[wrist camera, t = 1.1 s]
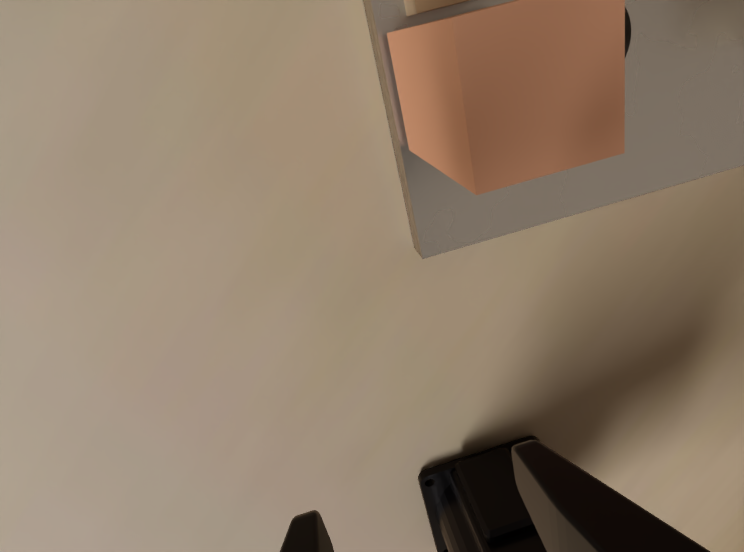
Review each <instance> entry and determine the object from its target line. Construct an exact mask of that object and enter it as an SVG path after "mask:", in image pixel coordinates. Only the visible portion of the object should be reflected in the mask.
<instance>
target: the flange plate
mask: <svg viewBox="0 0 744 552" xmlns="http://www.w3.org/2000/svg"><path fill="white" fill-rule="evenodd" d="M510 1H514V0H470V1H466V2H462V3H458V4H455V5H451V6H447V7H443V8H439V9H435V10H431V11H427V12H423V13H419V14H415V15H411V16H408V17H407V16H406V10H405V5H404V0H363V2H364V7H365V11H366V16H367V21H368V26H369V31H370V36H371V40H372V45H373V50H374V55H375V60H376V65H377V69H378V74H379V79H380V84H381V89H382V94H383V98H384V103H385V108H386V113H387V118H388V123H389V127H390V132H391V137H392V142H393V147H394V151H395V156H396V161H397V166H398V171H399V176H400V180H401V185H402V190H403V195H404V200H405V205H406V209H407V214H408V219H409V224H410V229H411V234H412V238H413V243H414V248H415V249H416V251H417V252H418V253H419V255H420V256H421V257H422V259H424V258H427V257H431V256H434V255H438V254H441V253H445V252H448V251H451V250H455V249H458V248H462V247H465V246H469V245H472V244H475V243H479V242H482V241H486V240H489V239H493V238H496V237H499V236H503V235H506V234H510V233H513V232H517V231H520V230H523V229H527V228H530V227H534V226H537V225H541V224H544V223H547V222H551V221H554V220H558V219H561V218H565V217H568V216H571V215H575V214H578V213H582V212H585V211H589V210H592V209H595V208H599V207H602V206H606V205H609V204H613V203H616V202H619V201H623V200H626V199H630V198H633V197H637V196H640V195H643V194H647V193H650V192H654V191H657V190H661V189H664V188H667V187H671V186H674V185H678V184H681V183H684V182H688V181H691V180H695V179H698V178H702V177H705V176H708V175H712V174H715V173H719V172H722V171H726V170H729V169H732V168H736V167H739V166H743V165H744V0H625V153H623V154H620V155H616V156H613V157H609V158H606V159H602V160H599V161H595V162H592V163H588V164H585V165H581V166H578V167H574V168H571V169H567V170H563V171H560V172H556V173H553V174H549V175H546V176H542V177H539V178H535V179H532V180H528V181H525V182H521V183H518V184H514V185H511V186H507V187H504V188H500V189H497V190H493V191H490V192H486V193H483V194H479V195H475V194H474V193H472V192H471V191H469V190H468V189H466V188H465V187H463V186H462V185H460V184H459V183H457V182H456V181H454V180H453V179H451V178H450V177H448V176H447V175H445V174H444V173H442V172H441V171H439V170H438V169H436V168H435V167H433V166H432V165H430V164H429V163H427V162H426V161H425V160H423V159H422V158H420V157H419V156H417V155H416V154H414V153H413V152H411V151H410V150H409V146H408V141H407V136H406V131H405V126H404V121H403V115H402V110H401V105H400V100H399V95H398V90H397V84H396V79H395V74H394V69H393V64H392V58H391V53H390V48H389V43H388V38H387V33H389V32H393V31H397V30H400V29H404V28H408V27H412V26H416V25H420V24H424V23H428V22H432V21H436V20H439V19H443V18H447V17H451V16H455V15H459V14H463V13H467V12H471V11H474V10H478V9H482V8H486V7H490V6H494V5H498V4H502V3H506V2H510Z"/></svg>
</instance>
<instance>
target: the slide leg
mask: <svg viewBox="0 0 744 552" xmlns="http://www.w3.org/2000/svg"><path fill="white" fill-rule="evenodd" d="M387 38H388V43H389V48H390V53H391V58H392V64H393V69H394V74H395V79H396V84H397V90H398V95H399V100H400V105H401V110H402V115H403V121H404V126H405V131H406V136H407V141H408V146H409V150H410V151H411V152H413V153H414V154H416V155H417V156H419V157H420V158H422V159H423V160H425V161H426V162H427V163H429V164H430V165H432V166H433V167H435V168H436V169H438V170H439V171H441V172H442V173H444V174H445V175H447V176H448V177H450V178H451V179H453V180H454V181H456V182H457V183H459V184H460V185H462V186H463V187H465V188H466V189H468V190H469V191H471V192H472V193H474V194H475V195H479V194H483V193H486V192H490V191H493V190H497V189H500V188H504V187H507V186H511V185H514V184H518V183H521V182H525V181H528V180H532V179H535V178H539V177H542V176H546V175H549V174H553V173H556V172H560V171H563V170H567V169H571V168H574V167H578V166H581V165H585V164H588V163H592V162H595V161H599V160H602V159H606V158H609V157H613V156H616V155H620V154H623V153H625V0H514V1H510V2H506V3H502V4H498V5H494V6H490V7H486V8H482V9H478V10H474V11H471V12H467V13H463V14H459V15H455V16H451V17H447V18H443V19H439V20H436V21H432V22H428V23H424V24H420V25H416V26H412V27H408V28H404V29H400V30H397V31H393V32H389V33H387Z"/></svg>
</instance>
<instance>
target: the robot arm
mask: <svg viewBox="0 0 744 552" xmlns="http://www.w3.org/2000/svg"><path fill="white" fill-rule="evenodd" d="M429 479H430V480H429ZM418 481H419V485H420V489H421V492H422V496H423V500H424V504H425V508H426V511H427V515H428V519H429V523H430V526H431V530H432V534H433V538H434V542H435V545H436V549H437V552H710V551H709V550H707V549H705V548H704V547H702V546H701V545H699V544H698V543H696V542H695V541H693V540H691V539H690V538H688V537H687V536H685V535H684V534H682V533H681V532H679V531H677V530H676V529H674V528H673V527H671V526H670V525H668V524H666V523H665V522H663V521H662V520H660V519H659V518H657V517H656V516H654V515H652V514H651V513H649V512H648V511H646V510H645V509H643V508H642V507H640V506H638V505H637V504H635V503H634V502H632V501H631V500H629V499H627V498H626V497H624V496H623V495H621V494H620V493H618V492H617V491H615V490H613V489H612V488H610V487H609V486H607V485H606V484H604V483H603V482H601V481H599V480H598V479H596V478H595V477H593V476H592V475H590V474H588V473H587V472H585V471H584V470H582V469H581V468H579V467H578V466H576V465H574V464H573V463H571V462H570V461H568V460H567V459H565V458H563V457H562V456H560V455H559V454H557V453H556V452H554V451H553V450H551V449H549V448H548V447H546V446H545V445H543V444H542V443H541V442H540V441H539V439H538V438H537V437H535V436H529V437H526V438H522V439H519V440H516V441H513V442H510V443H507V444H504V445H501V446H498V447H495V448H492V449H488V450H485V451H482V452H479V453H476V454H473V455H470V456H467V457H464V458H461V459H458V460H454V461H451V462H448V463H445V464H442V465H439V466H436V467H433V468H430V469H427V470H424V471H422V472H421V473H420V474H419V476H418ZM280 552H334V550H333V546H332V543H331V540H330V537H329V535H328V533H327V530H326V528H325V525H324V523H323V520H322V518H321V516H320V514H319V512H318V511H316V510H313V511H310V512H306V513H303V514H300V515H297V516H295V517H294V518H293V519H292V521H291V524H290V526H289V529H288V532H287V534H286V537H285V539H284V542H283V545H282V547H281V550H280Z"/></svg>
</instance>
